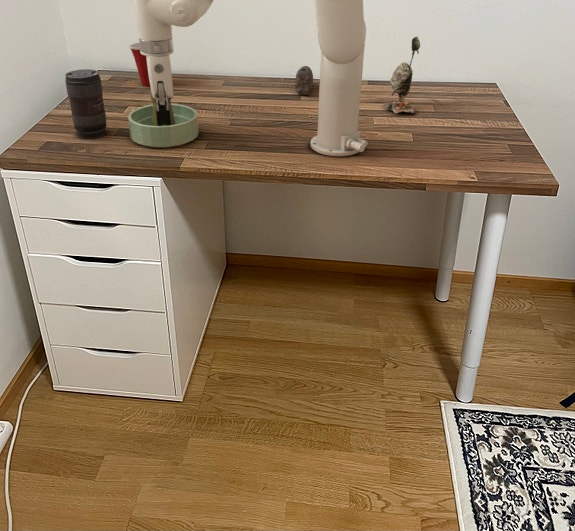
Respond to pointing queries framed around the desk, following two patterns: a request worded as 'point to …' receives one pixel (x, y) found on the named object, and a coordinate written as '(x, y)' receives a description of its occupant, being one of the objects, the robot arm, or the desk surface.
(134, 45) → the plastic cup
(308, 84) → the perforated stone tool
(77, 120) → the camera lens
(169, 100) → the tan pawn
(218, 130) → the desk surface
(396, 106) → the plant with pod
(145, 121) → the bowl
